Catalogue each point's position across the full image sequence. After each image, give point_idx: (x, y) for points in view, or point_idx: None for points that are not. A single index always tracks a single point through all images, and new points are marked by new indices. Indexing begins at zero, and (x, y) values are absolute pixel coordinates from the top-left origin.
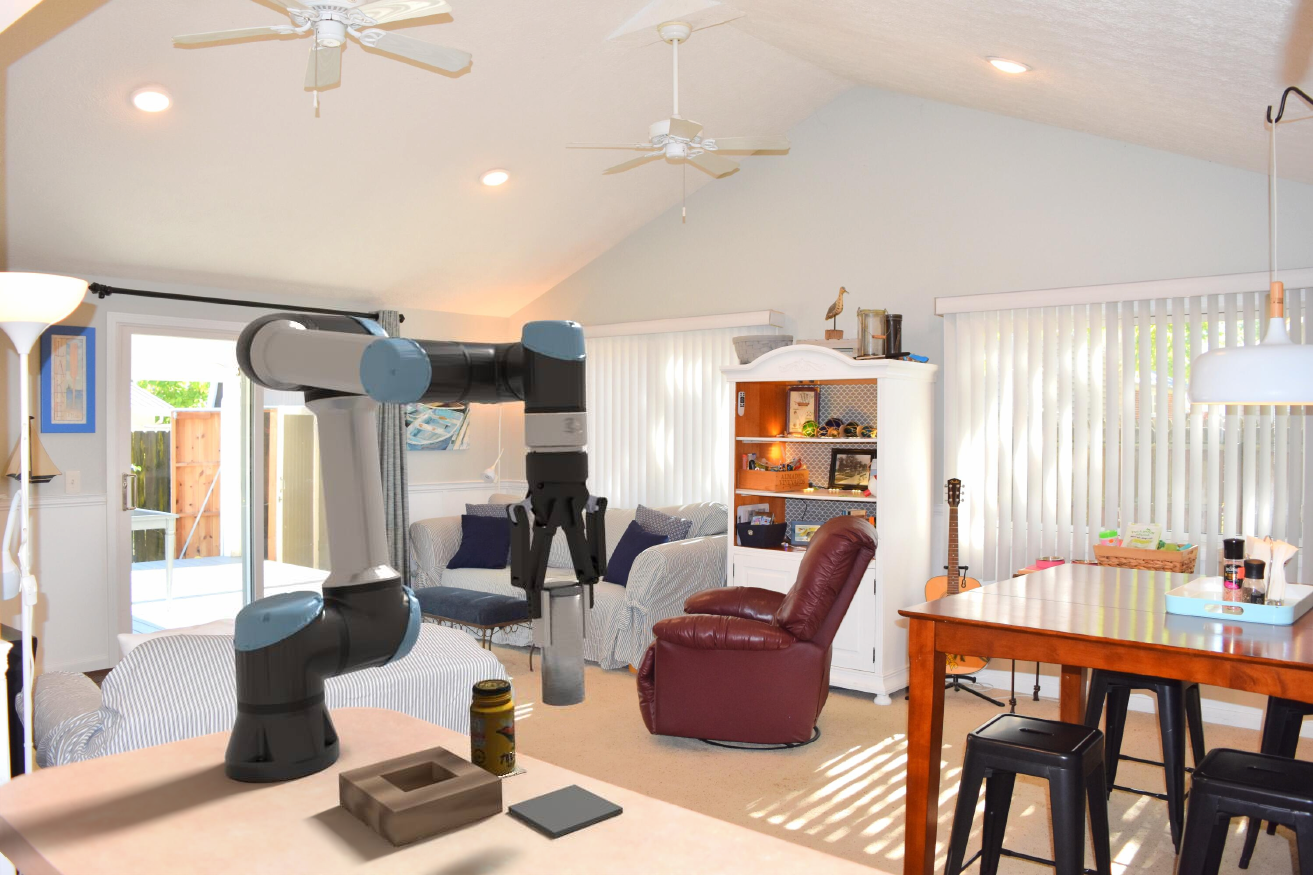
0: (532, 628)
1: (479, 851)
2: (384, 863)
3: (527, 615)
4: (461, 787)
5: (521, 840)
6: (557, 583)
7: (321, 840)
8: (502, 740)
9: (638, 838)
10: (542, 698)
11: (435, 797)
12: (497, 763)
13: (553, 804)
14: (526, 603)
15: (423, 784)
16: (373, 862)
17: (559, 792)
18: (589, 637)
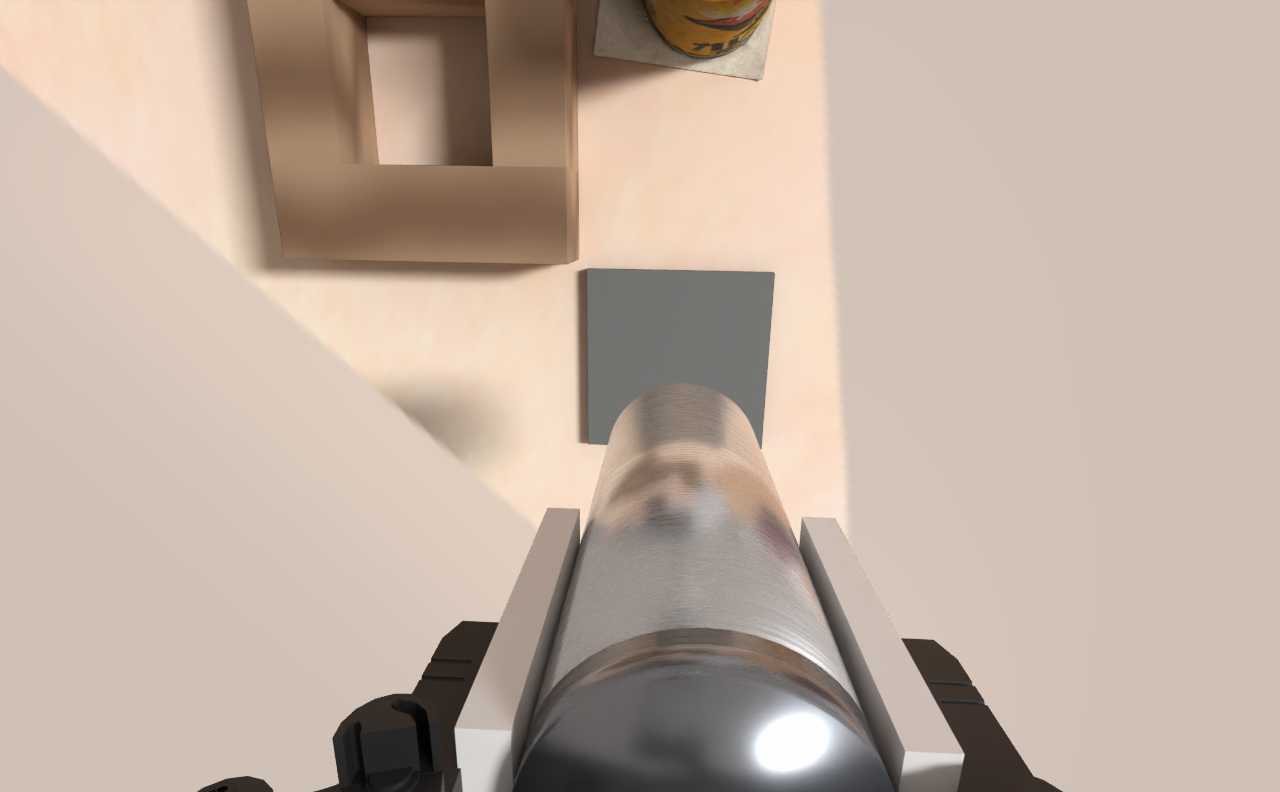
0: (531, 549)
1: (451, 387)
2: (288, 303)
3: (453, 629)
4: (465, 238)
5: (536, 404)
6: (727, 781)
7: (204, 102)
8: (703, 33)
9: None
10: (612, 430)
11: (389, 249)
12: (684, 46)
13: (667, 332)
14: (416, 687)
15: (474, 8)
16: (271, 284)
17: (717, 288)
18: None
